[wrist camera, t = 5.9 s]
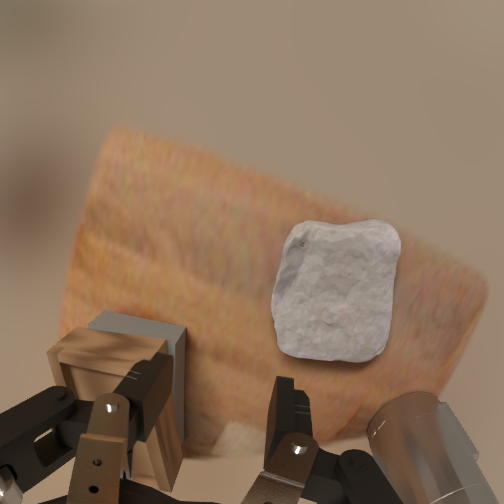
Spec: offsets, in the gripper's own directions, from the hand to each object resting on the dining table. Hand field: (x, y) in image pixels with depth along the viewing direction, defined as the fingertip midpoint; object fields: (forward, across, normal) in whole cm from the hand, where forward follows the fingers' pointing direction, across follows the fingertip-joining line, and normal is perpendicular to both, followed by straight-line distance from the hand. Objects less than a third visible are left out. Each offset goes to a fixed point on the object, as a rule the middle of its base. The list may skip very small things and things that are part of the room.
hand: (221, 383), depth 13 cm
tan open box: (+11, +10, +13) cm, 20 cm away
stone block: (+14, -2, 0) cm, 14 cm away
